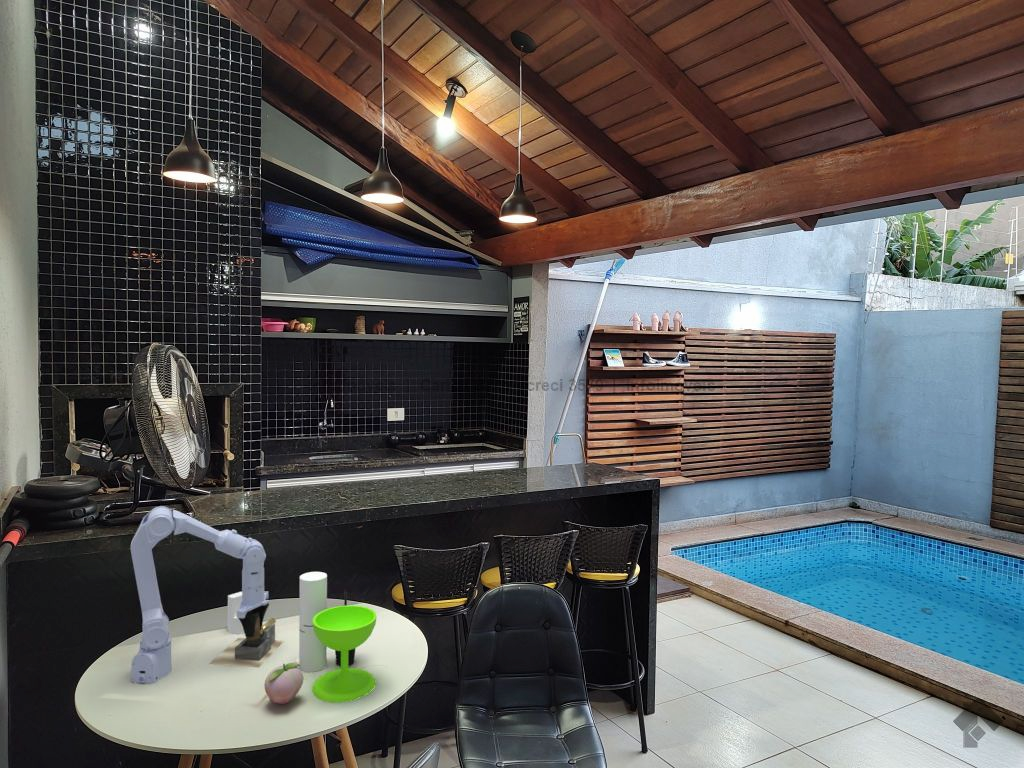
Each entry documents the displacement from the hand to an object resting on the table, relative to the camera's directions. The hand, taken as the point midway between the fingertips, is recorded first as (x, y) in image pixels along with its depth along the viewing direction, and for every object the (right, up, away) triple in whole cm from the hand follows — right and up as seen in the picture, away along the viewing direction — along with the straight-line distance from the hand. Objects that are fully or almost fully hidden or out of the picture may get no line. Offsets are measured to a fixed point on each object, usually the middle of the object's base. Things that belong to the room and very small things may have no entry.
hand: (253, 633), depth 183 cm
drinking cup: (+26, -8, -1) cm, 27 cm away
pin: (+1, -2, +8) cm, 8 cm away
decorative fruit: (+16, -9, -22) cm, 29 cm away
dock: (-2, -7, +2) cm, 8 cm away
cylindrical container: (+18, -8, -3) cm, 20 cm away
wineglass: (+29, -9, -13) cm, 33 cm away
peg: (0, -2, 0) cm, 2 cm away
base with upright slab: (-10, -6, +17) cm, 21 cm away
